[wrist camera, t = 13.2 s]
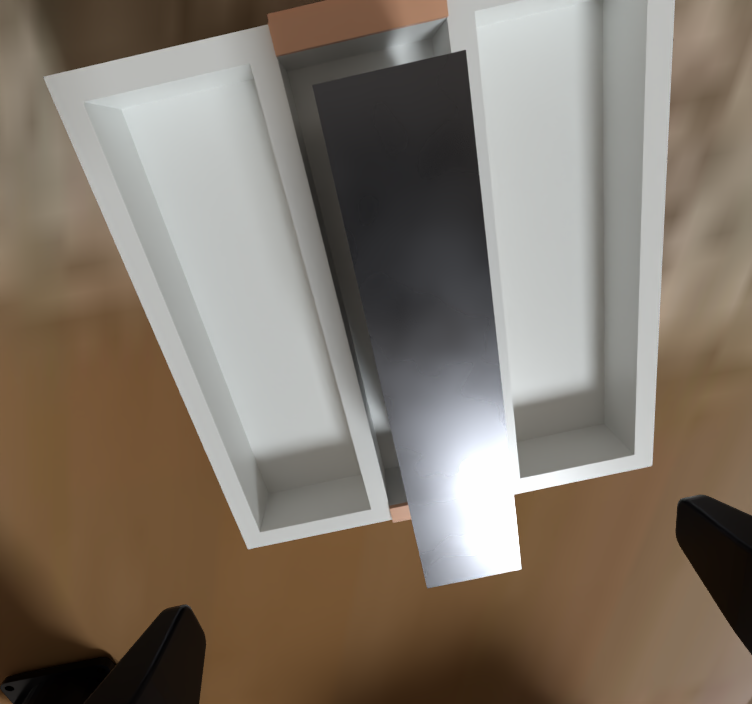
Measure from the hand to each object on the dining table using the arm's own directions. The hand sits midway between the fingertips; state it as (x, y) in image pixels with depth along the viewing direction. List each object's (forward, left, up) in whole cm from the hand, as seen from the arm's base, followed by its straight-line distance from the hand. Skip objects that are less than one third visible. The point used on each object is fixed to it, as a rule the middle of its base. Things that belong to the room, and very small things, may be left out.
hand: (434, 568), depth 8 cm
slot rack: (+1, +1, -13) cm, 13 cm away
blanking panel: (+1, +1, -12) cm, 12 cm away
